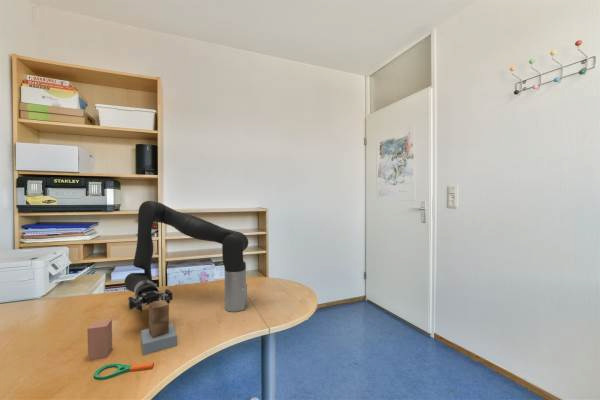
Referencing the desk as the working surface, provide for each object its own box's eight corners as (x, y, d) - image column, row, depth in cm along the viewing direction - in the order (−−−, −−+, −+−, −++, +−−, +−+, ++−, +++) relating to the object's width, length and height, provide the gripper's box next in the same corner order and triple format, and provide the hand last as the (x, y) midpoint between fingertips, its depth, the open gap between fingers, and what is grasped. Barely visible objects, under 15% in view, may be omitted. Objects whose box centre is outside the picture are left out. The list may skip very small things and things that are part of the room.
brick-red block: (112, 348, 91) (111, 319, 91) (107, 357, 87) (106, 326, 86) (94, 351, 90) (93, 321, 89) (88, 360, 85) (87, 328, 85)
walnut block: (164, 327, 98) (164, 299, 98) (168, 333, 95) (168, 304, 94) (148, 331, 95) (148, 303, 95) (152, 338, 91) (152, 308, 91)
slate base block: (172, 333, 102) (172, 323, 102) (177, 346, 93) (176, 335, 93) (141, 341, 96) (141, 330, 96) (143, 356, 88) (142, 344, 88)
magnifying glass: (89, 383, 76) (89, 377, 76) (100, 369, 82) (100, 363, 82) (149, 375, 79) (149, 369, 79) (156, 362, 85) (155, 357, 85)
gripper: (124, 286, 107) (131, 299, 94) (165, 278, 115) (176, 290, 103) (125, 305, 107) (132, 321, 94) (165, 296, 116) (176, 310, 103)
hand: (154, 305), depth 99 cm, fingers open, 8 cm apart
